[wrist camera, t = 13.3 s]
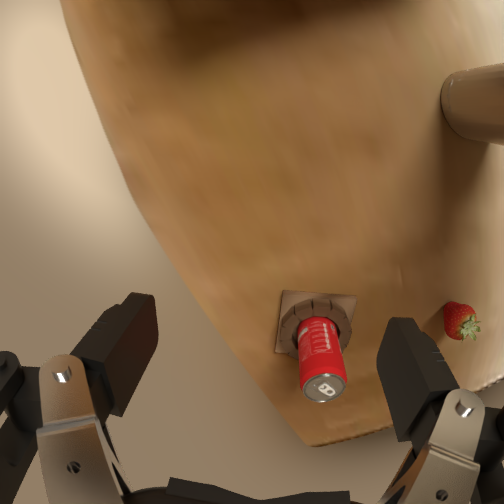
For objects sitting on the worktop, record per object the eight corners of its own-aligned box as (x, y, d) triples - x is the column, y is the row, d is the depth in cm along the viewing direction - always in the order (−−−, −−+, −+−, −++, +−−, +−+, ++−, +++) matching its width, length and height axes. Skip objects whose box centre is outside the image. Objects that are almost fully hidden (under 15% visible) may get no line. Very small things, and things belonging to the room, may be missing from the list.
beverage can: (317, 303, 40) (328, 364, 29) (341, 325, 42) (357, 387, 30) (289, 326, 42) (290, 389, 31) (314, 346, 43) (320, 409, 32)
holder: (355, 295, 41) (360, 307, 38) (340, 352, 45) (343, 365, 42) (283, 290, 41) (283, 301, 39) (275, 348, 45) (274, 361, 42)
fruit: (466, 305, 40) (489, 334, 33) (441, 326, 42) (461, 357, 34) (455, 284, 39) (480, 313, 31) (428, 307, 41) (449, 339, 33)
